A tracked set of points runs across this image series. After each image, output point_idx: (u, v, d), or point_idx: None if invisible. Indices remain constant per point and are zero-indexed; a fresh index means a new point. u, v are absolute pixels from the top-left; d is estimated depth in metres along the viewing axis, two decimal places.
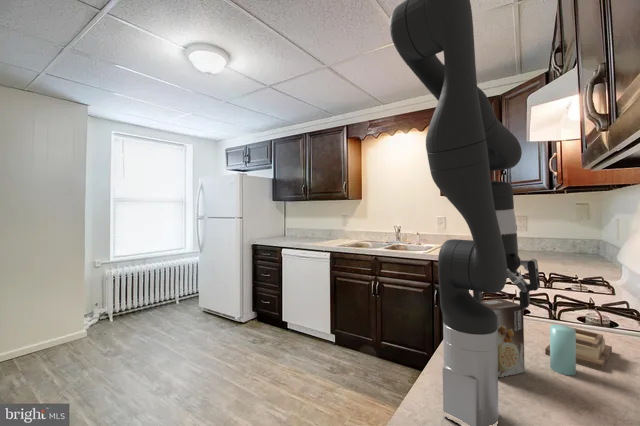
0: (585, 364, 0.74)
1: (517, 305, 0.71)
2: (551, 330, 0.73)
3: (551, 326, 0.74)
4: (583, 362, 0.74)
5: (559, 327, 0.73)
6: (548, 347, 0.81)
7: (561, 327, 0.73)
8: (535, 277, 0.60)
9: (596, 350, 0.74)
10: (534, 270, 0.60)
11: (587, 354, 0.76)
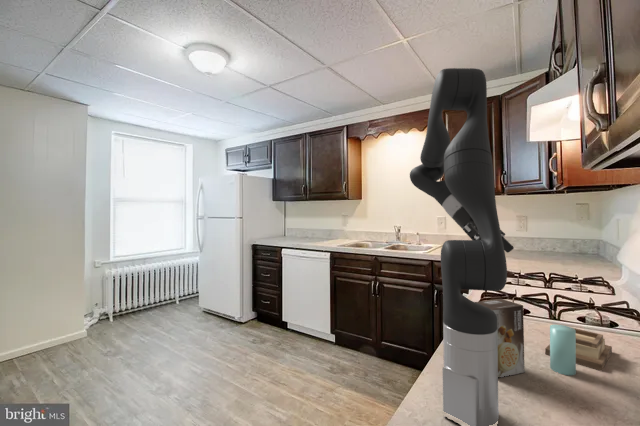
0: (585, 364, 0.74)
1: (517, 305, 0.71)
2: (551, 330, 0.73)
3: (551, 326, 0.74)
4: (583, 362, 0.74)
5: (559, 327, 0.73)
6: (548, 347, 0.81)
7: (561, 327, 0.73)
8: None
9: (596, 350, 0.74)
10: None
11: (587, 354, 0.76)
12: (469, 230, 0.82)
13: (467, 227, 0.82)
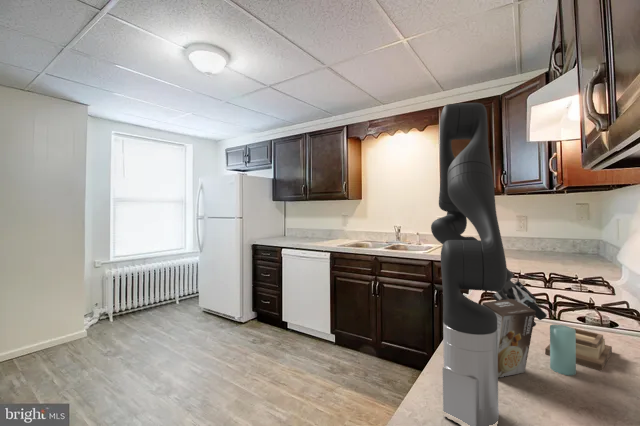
0: (585, 364, 0.74)
1: (529, 310, 0.68)
2: (551, 330, 0.73)
3: (551, 326, 0.74)
4: (583, 362, 0.74)
5: (559, 327, 0.73)
6: (548, 347, 0.81)
7: (561, 327, 0.73)
8: None
9: (596, 350, 0.74)
10: (523, 286, 0.84)
11: (587, 354, 0.76)
12: (500, 298, 0.77)
13: (498, 295, 0.77)
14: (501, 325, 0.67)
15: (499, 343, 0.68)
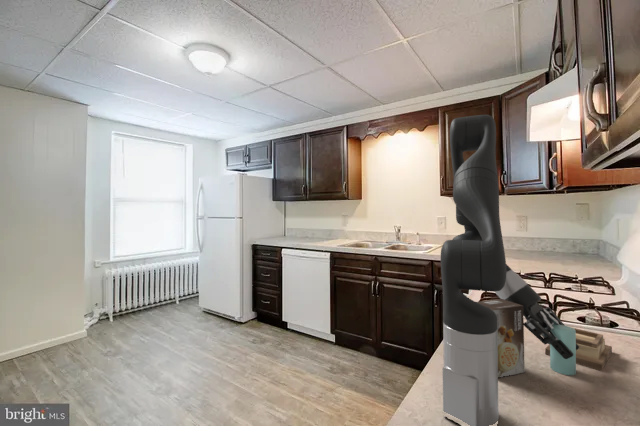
0: (585, 364, 0.74)
1: (517, 305, 0.71)
2: None
3: None
4: (583, 362, 0.74)
5: (559, 327, 0.73)
6: (548, 347, 0.81)
7: (561, 327, 0.73)
8: (558, 318, 0.78)
9: (596, 350, 0.74)
10: (554, 313, 0.79)
11: (587, 354, 0.76)
12: (533, 328, 0.72)
13: (531, 324, 0.72)
14: None
15: None
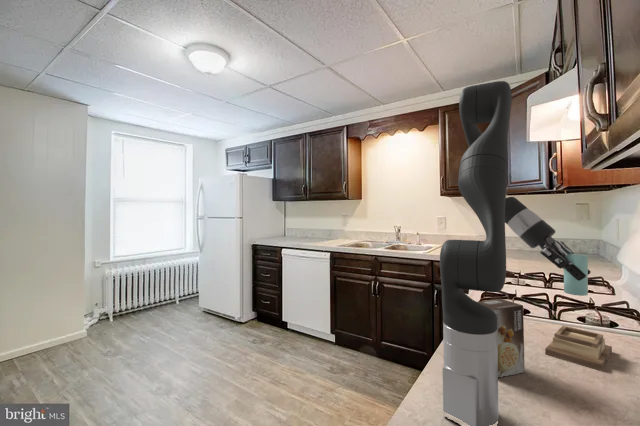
0: (585, 364, 0.74)
1: (517, 305, 0.71)
2: None
3: None
4: (583, 362, 0.74)
5: (573, 254, 0.80)
6: (548, 347, 0.81)
7: (574, 254, 0.80)
8: None
9: (596, 350, 0.74)
10: None
11: (587, 354, 0.76)
12: (550, 254, 0.79)
13: (547, 251, 0.79)
14: None
15: None
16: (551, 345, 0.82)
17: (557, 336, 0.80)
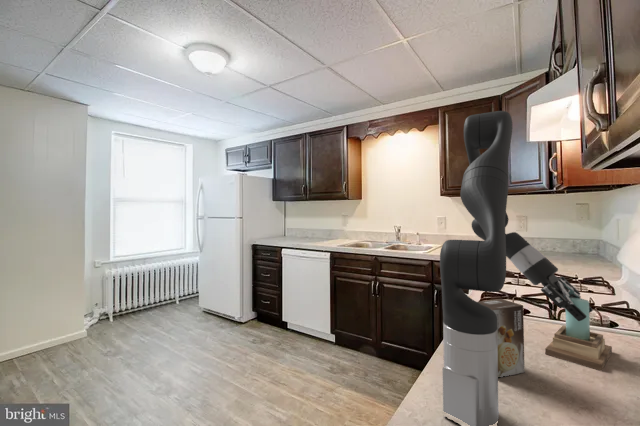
0: (585, 364, 0.74)
1: (517, 305, 0.71)
2: None
3: None
4: (583, 362, 0.74)
5: (574, 299, 0.81)
6: (548, 347, 0.81)
7: (575, 299, 0.81)
8: None
9: (596, 350, 0.74)
10: (567, 281, 0.87)
11: (587, 354, 0.76)
12: (550, 292, 0.79)
13: (547, 289, 0.80)
14: None
15: None
16: (551, 345, 0.82)
17: (557, 336, 0.80)
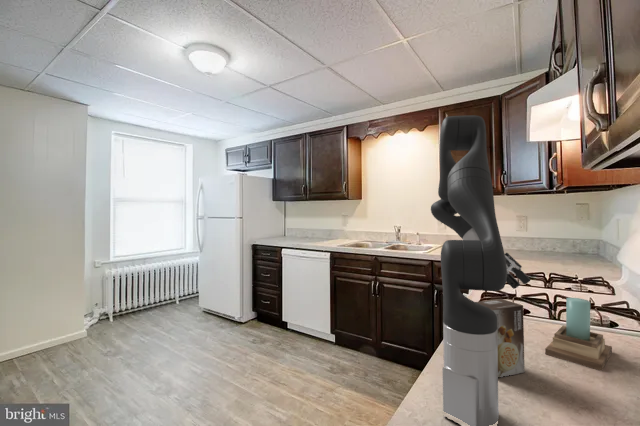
0: (585, 364, 0.74)
1: (517, 305, 0.71)
2: (568, 302, 0.80)
3: (567, 299, 0.81)
4: (583, 362, 0.74)
5: (575, 299, 0.81)
6: (548, 347, 0.81)
7: (576, 299, 0.81)
8: None
9: (596, 350, 0.74)
10: (511, 257, 0.97)
11: (587, 354, 0.76)
12: None
13: None
14: None
15: None
16: (551, 345, 0.82)
17: (557, 336, 0.80)
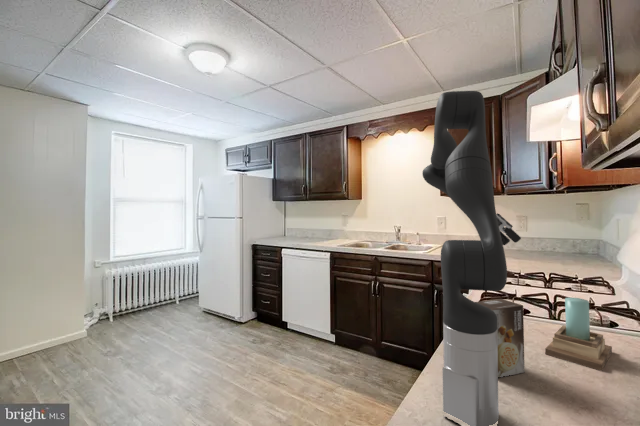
0: (585, 364, 0.74)
1: (517, 305, 0.71)
2: (566, 302, 0.80)
3: (566, 299, 0.81)
4: (583, 362, 0.74)
5: (574, 299, 0.81)
6: (548, 347, 0.81)
7: (575, 299, 0.81)
8: None
9: (596, 350, 0.74)
10: (502, 217, 0.97)
11: (587, 354, 0.76)
12: None
13: None
14: None
15: None
16: (551, 345, 0.82)
17: (557, 336, 0.80)
